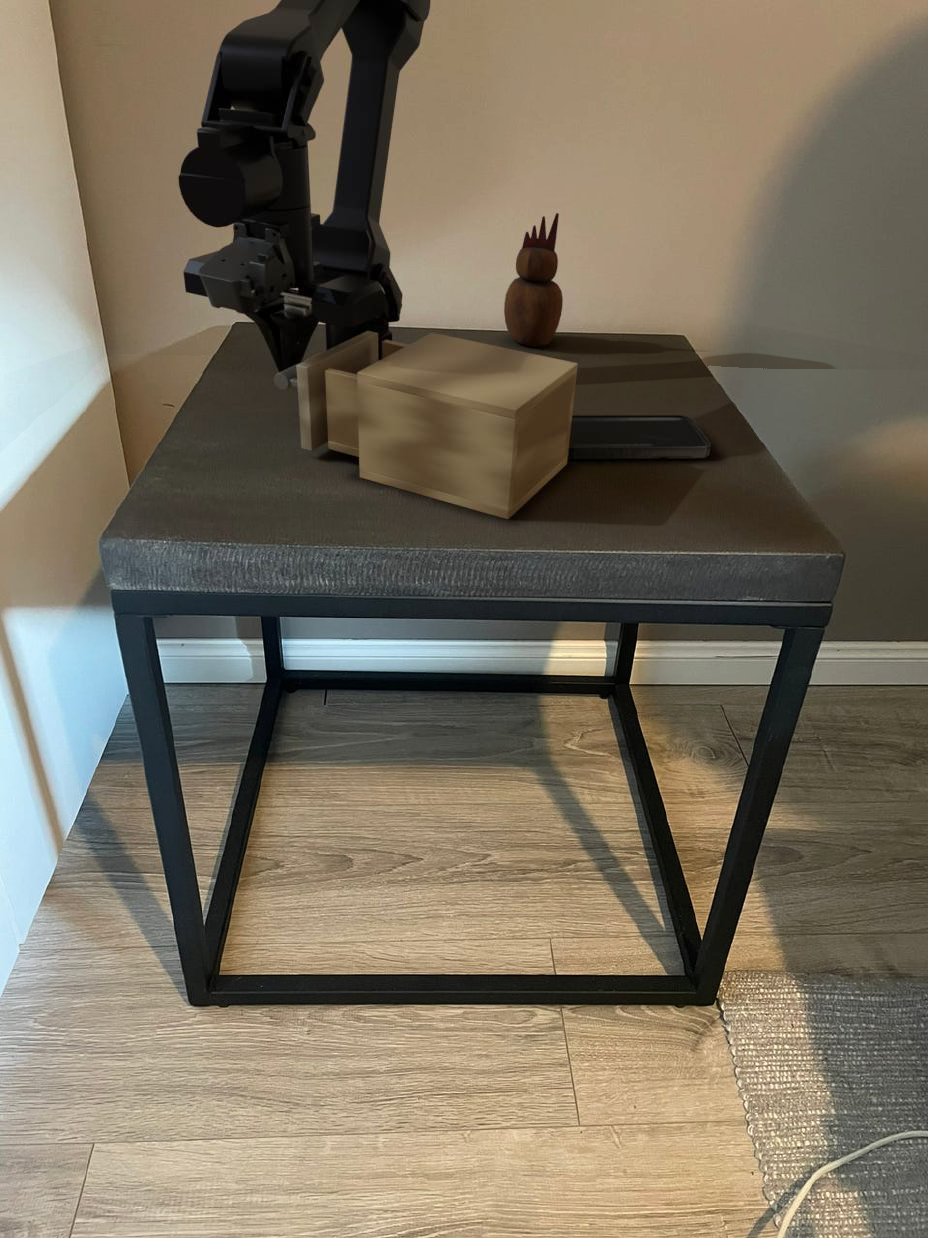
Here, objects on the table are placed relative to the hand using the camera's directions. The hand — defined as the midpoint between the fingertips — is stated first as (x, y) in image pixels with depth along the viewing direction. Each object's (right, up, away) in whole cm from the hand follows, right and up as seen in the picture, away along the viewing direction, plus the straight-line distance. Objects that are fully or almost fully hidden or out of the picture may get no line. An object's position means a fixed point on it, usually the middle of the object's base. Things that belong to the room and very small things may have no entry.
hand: (288, 379), depth 90 cm
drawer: (+9, -6, -2) cm, 11 cm away
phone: (+32, -6, +2) cm, 33 cm away
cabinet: (+17, -9, -5) cm, 20 cm away
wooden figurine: (+25, +11, +26) cm, 37 cm away
